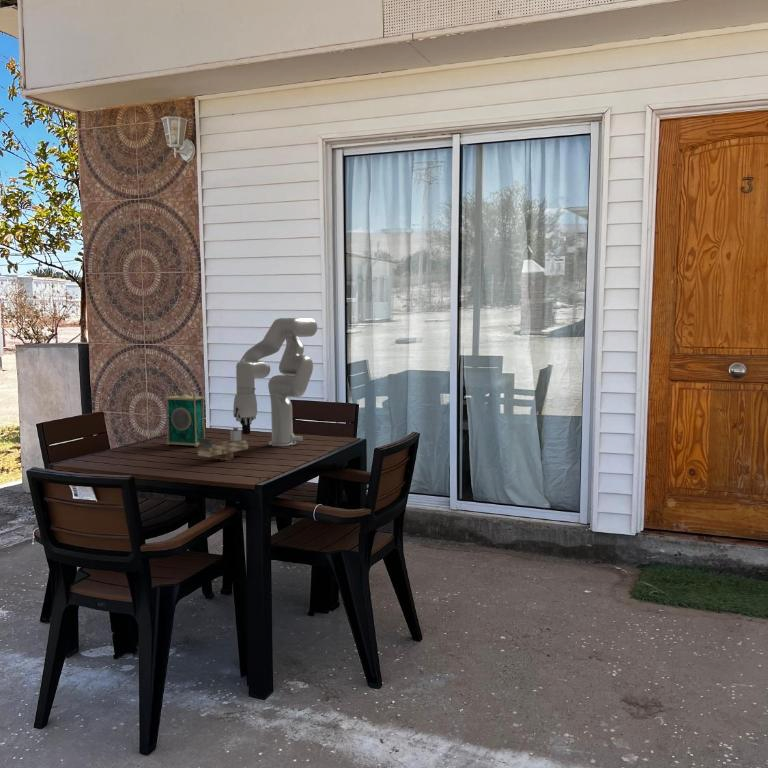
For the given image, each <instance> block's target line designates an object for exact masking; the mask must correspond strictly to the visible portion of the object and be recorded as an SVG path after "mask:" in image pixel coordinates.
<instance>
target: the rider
mask: <svg viewBox="0 0 768 768" xmlns="http://www.w3.org/2000/svg"><path fill="white" fill-rule="evenodd" d="M229 433H230V439H229V441H230V443H234V442H239V441H242V440H243V439H242V429H239V427H233V429H232V430H230V431H229Z"/></svg>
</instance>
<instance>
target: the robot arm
mask: <svg viewBox="0 0 768 768" xmlns="http://www.w3.org/2000/svg"><path fill="white" fill-rule="evenodd" d="M317 331H318V323H317V322H316V320H315V319H314V318H311V317H279V318H276V319H275V320H274V321H273V322H272V324H271V325H270V327H269V329H268V330H267V332H266V333H265V336H264V337H263V339H262V340H260V341H259V342H257V343H256V344H255V345H253V346H251V347H250V348H249V349H248V350H247V351H245V353H244V354H243V355H242V357H241V358H240V361H238V362H237V363H236V367H235V368H236V369H235V370H236V371H235V374H236V377H235V380H236V394H235V395H234V400H233V413H232V414H233V418H235V421H236V422H239V423H240V425H241V435H250V434H251V425H252V422H253V421H254V420H256V418H257V416H258V415H257V414H258V401H257V397H256V392H255V391H256V387H255V379H264V378H266V377H268V376H269V375H270V373H271V366H270V364H269V363H268V362H267V361H266V360H265V361H264V360H261V359H264V358H266V357H269V356H272V355H274V354H276V353H278V352H279V351H280V349H281V347H282V346H283V344H284V342H285V343H286V346H285V348H284V351H283V354H282V356H281V359H280V362H279V365H278V370H279V373H280V375H279V374H276V375H274V376H272V377H271V378H270V379H269V381H268V383H267V386H268V387H267V388H268V393H269V397H270V405H271V406H270V408H271V409H270V413H271V416H270V417H271V418H270V419H271V420H270V421H271V440H270V441H268V445H269V446H271V445H272V446H271V447H291V446H295V445H297V441H303V436H302V435H295V433H294V429H293V424H294V423H293V404H292V400H291V399H290V398H299V397H302V396H303V395H305V392H306V390H307V388H308V385H309V382H310V379H311V377H312V374H313V370H314V363H313V360H312V357H310V356H308V355H304V352H305V347H304V344H303V342H302V340H301V338H306V337H307V338H308V337H309V338H310V337H311V338H312V337H313V336H314V335H316V333H317ZM290 445H291V446H290Z"/></svg>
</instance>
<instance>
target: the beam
mask: <svg viewBox="0 0 768 768" xmlns="http://www.w3.org/2000/svg"><path fill="white" fill-rule="evenodd" d="M241 440H242V441H239V442H234V443H230V440H227V441H221V442H216V443H213V441H212V438H208V437H205V438H199V445H198V447H197V456H198V457H205V458H210V457H211V458H212V457H214V458H215V459H214V460H217V459H221V460H220V461H223V460H228V461H231V459H233V460H234V453H235V452H238V451H244V450H248V449H249V440H247V439H241Z"/></svg>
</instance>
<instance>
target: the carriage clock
mask: <svg viewBox="0 0 768 768" xmlns="http://www.w3.org/2000/svg"><path fill="white" fill-rule="evenodd" d="M184 381H185V382H186V384H187V385H188V388H187V390H182V389H181V383H182V382H184ZM190 387H191V385H190V383H189V382H188V380H186V379H183V380H180V382H179V384H178V388H179V390H180V391H181V392H182V393H183V394H182V395H177V392H175V391H174V392H173V395H170V396H168V395H169V394H168V393H165V394H164V396H165V397H163V399H164V400H165V411H166V412H165V414H166V416H165V417H166V436H167V437H166V441H165V445H166V446H167V445H179V446H180V445H181V446H194V448H195V447H197V448H198V447H199V438H206V434H205V433H206V432H205V431H206V430H205V429H206V427H205V399H206V397H207V396H204V395H205V393H204V392H202V393H201V396H196V394H193V396H192V395H188V394H186V393H187V392H188V391H189V390H190Z"/></svg>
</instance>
